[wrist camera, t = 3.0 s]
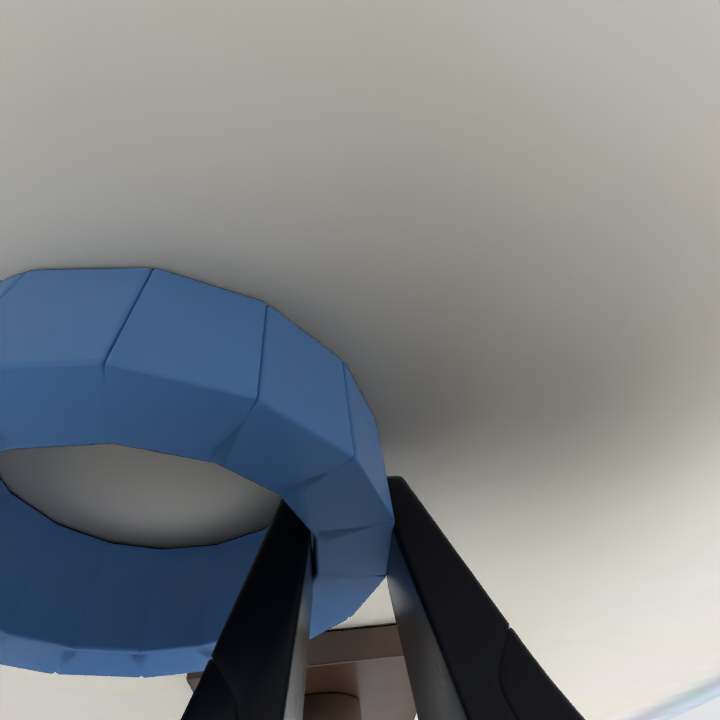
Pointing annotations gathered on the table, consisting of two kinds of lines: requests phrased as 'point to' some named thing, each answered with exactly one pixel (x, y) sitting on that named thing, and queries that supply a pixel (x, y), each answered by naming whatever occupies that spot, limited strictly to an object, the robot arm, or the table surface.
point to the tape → (181, 438)
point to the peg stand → (354, 676)
